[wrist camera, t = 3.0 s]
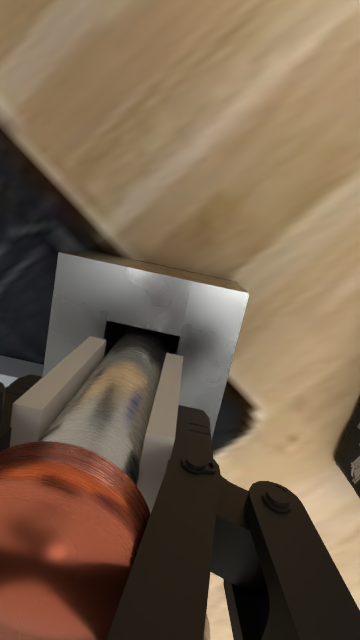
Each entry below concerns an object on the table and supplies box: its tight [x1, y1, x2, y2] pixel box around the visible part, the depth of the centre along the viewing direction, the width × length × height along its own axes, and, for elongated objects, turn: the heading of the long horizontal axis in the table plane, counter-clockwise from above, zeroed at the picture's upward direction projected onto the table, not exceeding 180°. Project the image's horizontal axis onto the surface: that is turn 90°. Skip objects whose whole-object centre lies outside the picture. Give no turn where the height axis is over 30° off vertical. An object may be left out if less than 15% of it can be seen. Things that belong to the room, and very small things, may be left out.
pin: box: [0, 326, 172, 640], centre depth 14 cm, size 4×4×16 cm
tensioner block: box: [42, 250, 249, 440], centre depth 19 cm, size 9×9×5 cm
